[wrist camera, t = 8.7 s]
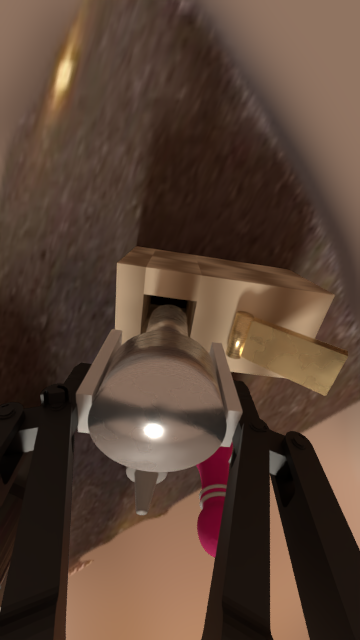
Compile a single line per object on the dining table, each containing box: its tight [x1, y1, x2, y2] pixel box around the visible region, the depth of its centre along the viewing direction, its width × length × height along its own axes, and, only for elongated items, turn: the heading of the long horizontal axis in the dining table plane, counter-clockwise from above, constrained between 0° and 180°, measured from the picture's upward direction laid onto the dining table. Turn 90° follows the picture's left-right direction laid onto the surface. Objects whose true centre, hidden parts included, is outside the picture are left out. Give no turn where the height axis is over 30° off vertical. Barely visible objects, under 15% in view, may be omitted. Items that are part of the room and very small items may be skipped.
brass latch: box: [226, 311, 348, 396], centre depth 20 cm, size 9×4×2 cm
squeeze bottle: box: [126, 467, 167, 515], centre depth 31 cm, size 8×8×18 cm
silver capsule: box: [88, 304, 227, 472], centre depth 17 cm, size 7×7×12 cm
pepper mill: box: [197, 442, 233, 557], centre depth 33 cm, size 7×7×20 cm
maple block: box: [115, 246, 335, 378], centre depth 27 cm, size 20×10×10 cm, turn 82°
